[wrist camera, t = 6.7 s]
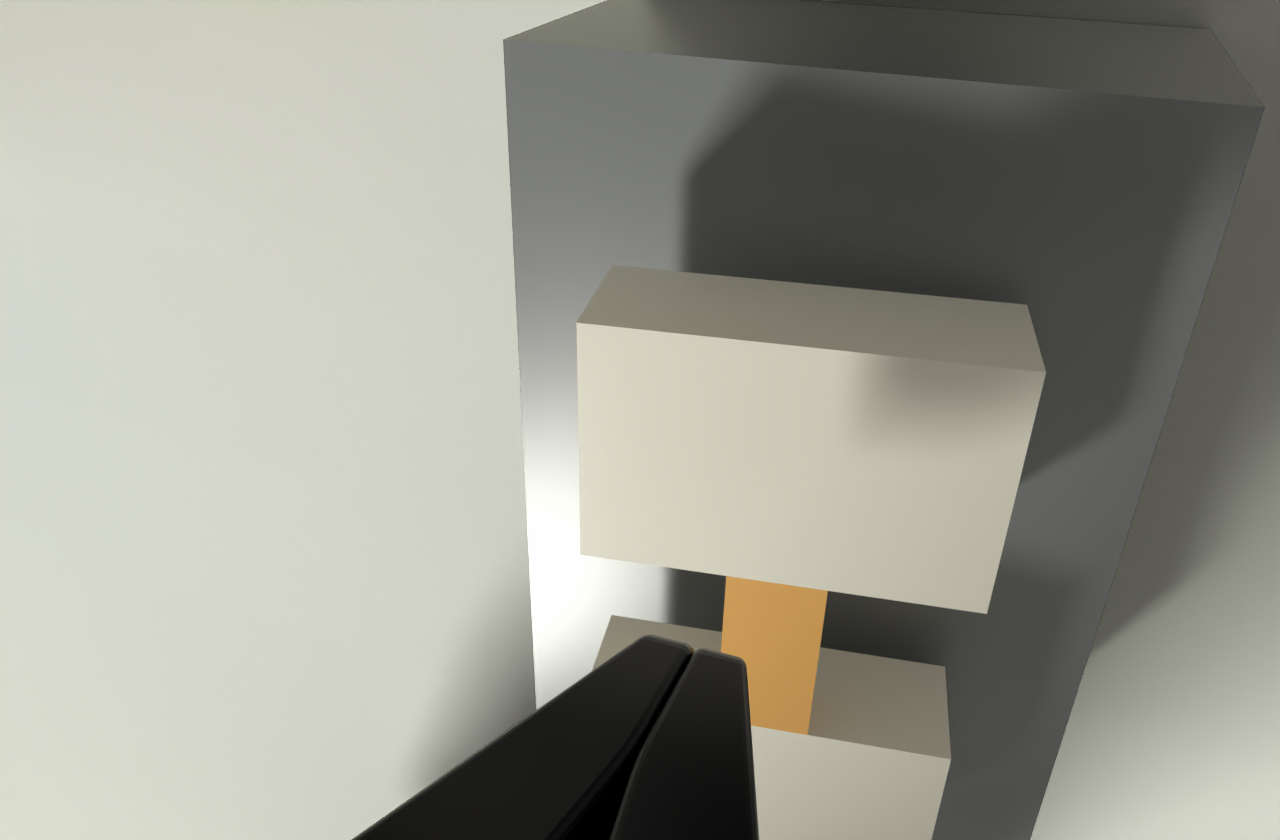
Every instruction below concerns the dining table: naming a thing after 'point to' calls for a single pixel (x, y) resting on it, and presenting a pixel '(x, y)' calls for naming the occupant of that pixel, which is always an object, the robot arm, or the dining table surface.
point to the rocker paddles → (809, 505)
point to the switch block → (885, 288)
